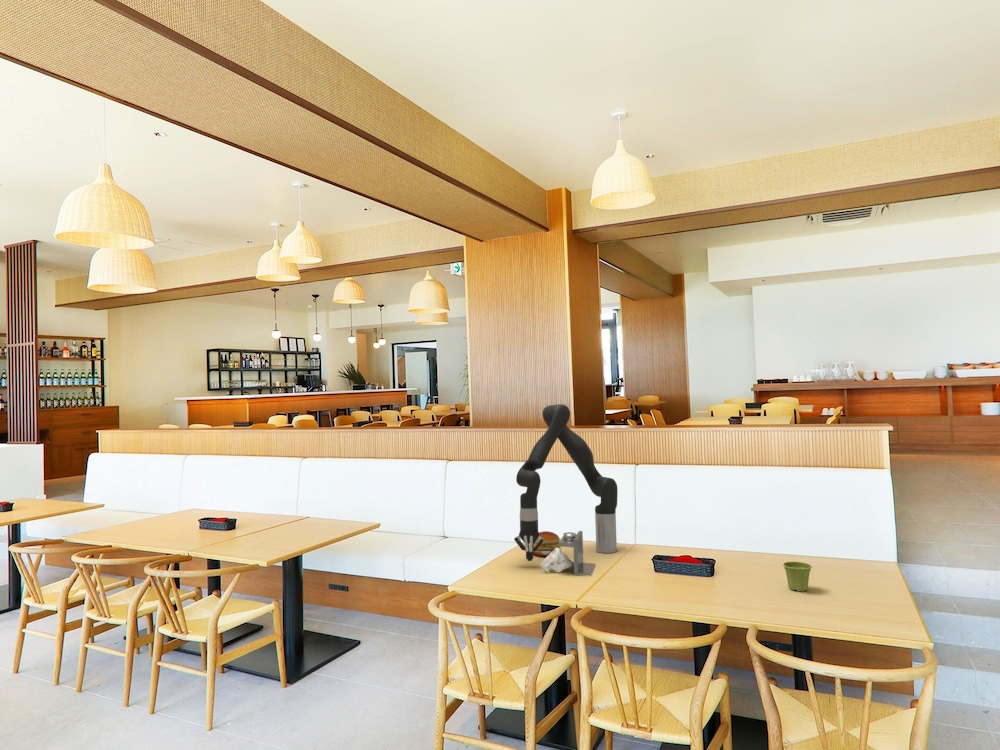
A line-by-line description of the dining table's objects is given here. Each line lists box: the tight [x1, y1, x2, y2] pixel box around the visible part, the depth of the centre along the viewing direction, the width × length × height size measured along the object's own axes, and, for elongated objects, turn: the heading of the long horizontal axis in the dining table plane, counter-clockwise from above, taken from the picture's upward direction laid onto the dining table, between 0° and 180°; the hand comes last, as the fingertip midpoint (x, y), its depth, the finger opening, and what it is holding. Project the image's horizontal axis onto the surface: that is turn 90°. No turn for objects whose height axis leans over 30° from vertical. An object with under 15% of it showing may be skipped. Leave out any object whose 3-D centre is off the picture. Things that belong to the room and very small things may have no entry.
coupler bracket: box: [559, 530, 596, 577], centre depth 262 cm, size 16×12×14 cm
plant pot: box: [782, 561, 813, 592], centre depth 230 cm, size 9×9×9 cm
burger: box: [533, 530, 561, 557], centre depth 288 cm, size 13×14×10 cm
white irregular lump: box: [539, 547, 574, 574], centre depth 262 cm, size 12×9×10 cm
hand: (529, 560), depth 267 cm, fingers closed
